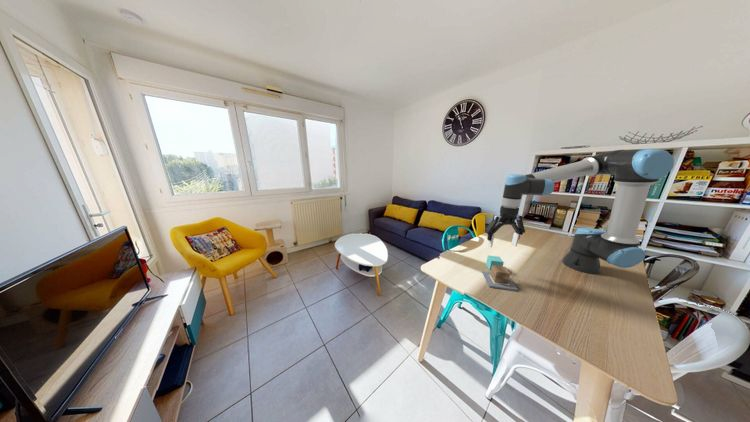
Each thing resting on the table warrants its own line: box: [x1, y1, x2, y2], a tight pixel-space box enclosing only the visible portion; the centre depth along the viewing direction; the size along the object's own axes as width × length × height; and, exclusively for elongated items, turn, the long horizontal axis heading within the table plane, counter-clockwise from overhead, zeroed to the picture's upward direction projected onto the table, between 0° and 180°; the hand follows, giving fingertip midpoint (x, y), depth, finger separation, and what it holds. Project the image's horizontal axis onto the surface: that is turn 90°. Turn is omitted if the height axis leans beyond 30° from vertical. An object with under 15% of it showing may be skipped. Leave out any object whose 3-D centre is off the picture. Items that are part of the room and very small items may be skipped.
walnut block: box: [490, 265, 511, 284], centre depth 95 cm, size 6×6×6 cm
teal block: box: [485, 254, 504, 271], centre depth 107 cm, size 6×6×6 cm
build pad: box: [481, 270, 519, 292], centre depth 96 cm, size 12×12×1 cm
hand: (501, 245), depth 99 cm, fingers open, 13 cm apart
